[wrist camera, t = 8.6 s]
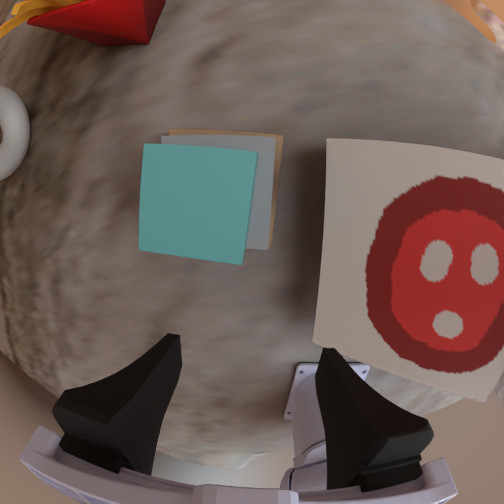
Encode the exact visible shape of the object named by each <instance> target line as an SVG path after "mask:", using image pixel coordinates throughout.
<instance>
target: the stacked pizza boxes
mask: <svg viewBox="0 0 504 504" xmlns="http://www.w3.org/2000/svg"><path fill="white" fill-rule="evenodd" d="M312 343H315V344H317V345H319V346H322V347H324V348H335V349H336V350H337V351H338V352H339V354H341V355H344V356H347V357H349V358H352V359H354V360H357V361H359V362H362V363H365V364H367V365H370V366H373V367H375V368H378V369H381V370H383V371H386V372H389V373H392V374H395V375H397V376H400V377H403V378H406V379H409V380H412V381H415V382H418V383H421V384H424V385H427V386H430V387H433V388H436V389H439V390H443V391H446V392H449V393H452V394H456V395H459V396H463V397H466V398H470V399H473V400H477V401H480V402H485V400H486V399H487V397H488V396H489V394H490V392H491V391H492V390H493V391H494V392H495V393H496V395H497V396H498V397H499V399H500V400H501V402H502V403H503V405H504V160H503V159H499V158H495V157H490V156H486V155H481V154H476V153H471V152H466V151H461V150H455V149H449V148H443V147H436V146H429V145H421V144H412V143H403V142H392V141H380V140H363V139H336V138H326V192H325V214H324V231H323V245H322V258H321V270H320V280H319V290H318V300H317V308H316V317H315V325H314V332H313V340H312Z"/></svg>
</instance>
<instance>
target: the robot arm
mask: <svg viewBox="0 0 504 504" xmlns="http://www.w3.org/2000/svg"><path fill="white" fill-rule="evenodd" d="M181 368H182V356H181V344H180V335H176V334H170V333H168V334H167V335H166V336H165V337H163V338H162V339H161V340H160V341H159V342H158V343H157V344H156V345H154V346H153V347H152V348H151V349H150V350H148V351H147V352H146V353H145V354H144V355H142V356H141V357H140V358H138V359H137V360H136V361H134V362H133V363H132V364H130V365H129V366H127V367H125V368H124V369H122V370H120V371H119V372H117V373H115V374H113V375H111V376H109V377H106V378H104V379H102V380H100V381H97V382H94V383H91V384H88V385H85V386H82V387H77V388H73V389H68V390H65V391H64V392H63V394H62V395H61V396H60V398H59V399H58V401H57V402H56V404H55V405H54V407H53V409H52V412H53V415H54V417H55V419H56V421H57V422H58V424H59V425H60V427H61V428H62V430H63V431H64V433H65V434H64V436H63V437H61V436H59V435H58V434H57V433H55V432H53V431H51V430H49V429H47V428H46V427H44V426H42V425H39V426H38V428H37V429H36V431H35V432H34V434H33V436H32V437H31V439H30V440H29V442H28V444H27V445H26V447H25V449H24V450H23V452H22V453H21V455H20V457H19V460H20V461H21V462H22V463H23V464H24V465H25V466H26V467H27V468H28V469H30V471H32V472H33V473H34V474H35V475H36V476H37V477H38V478H39V479H40V480H41V481H43V482H44V483H45V484H47V485H49V486H51V487H52V488H54V489H56V490H57V491H59V492H61V493H63V494H64V495H66V496H68V497H70V498H72V499H74V500H75V501H77V502H79V503H81V504H444V503H445V502H447V501H448V500H450V499H451V498H453V497H454V496H455V495H457V493H458V491H457V489H456V486H455V484H454V481H453V478H452V476H451V474H450V471H449V469H448V466H447V464H446V461H445V459H444V458H440V459H437V460H434V461H431V462H428V463H426V464H424V465H422V466H420V463H419V461H421V459H422V458H421V455H420V453H421V452H422V451H423V450H424V449H425V448H426V447H427V446H428V444H429V443H430V442H431V441H432V439H433V436H434V432H433V430H432V428H431V426H430V424H429V422H428V420H427V419H425V418H422V417H419V416H417V415H414V414H412V413H410V412H408V411H406V410H404V409H402V408H400V407H398V406H397V405H395V404H393V403H392V402H390V401H389V400H387V399H386V398H384V397H383V396H381V395H380V394H379V393H378V392H376V391H375V390H374V389H373V388H371V387H370V386H369V385H368V384H367V383H366V382H365V381H364V380H365V378H366V376H367V374H368V371H369V369H370V365H367V364H365V363H353V364H348V363H347V362H346V361H345V359H344V358H343V357H342V356H341V355H340V354H339V352H338V351H337V350H336V349H335V348H323V351H322V354H321V357H320V361H319V364H314V363H301V364H299V365H297V368H296V372H295V376H294V380H293V384H292V387H291V391H290V395H289V398H288V402H287V406H286V409H285V413H284V419H285V420H292V427H293V439H294V452H295V457H294V468H290V469H288V470H287V471H286V472H285V474H284V477H283V478H282V480H281V484H280V489H278V488H276V489H275V488H274V489H273V488H272V489H271V488H248V487H247V488H246V487H235V486H234V487H233V486H223V485H213V484H204V485H198V486H195V485H190V484H184V483H179V482H174V481H170V480H165V479H161V478H157V477H153V476H151V473H152V467H153V461H154V456H155V450H156V446H157V441H158V437H159V433H160V429H161V425H162V421H163V418H164V415H165V412H166V410H167V407H168V405H169V402H170V400H171V397H172V395H173V392H174V390H175V387H176V385H177V382H178V379H179V376H180V372H181ZM364 370H365V371H364ZM299 371H302V372H299Z"/></svg>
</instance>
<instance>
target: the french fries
mask: <svg viewBox="0 0 504 504" xmlns="http://www.w3.org/2000/svg"><path fill="white" fill-rule="evenodd" d="M165 3H166V1H165V0H26V1H23V2H20V3H17V4H15V6H14V8H13V11H12V13H11V14H12V15H17V16H15V17H14V18H12V19H10V20H9V21H7V22H6V23H4V24H3V25H2V26H0V39H1V38H2V37H3V36H4V35H5V34H7V33H8V32H9V31H11V30H12V29H13V28H15V27H16V26H18V25H19V24H21V23H23V22H24V21H26V20H28V21H27V24H29V25H33V26H38V27H42V28H46V29H50V30H53V31H57V32H61V33H64V34H68V35H71V36H74V37H77V38H80V39H84V40H87V41H89V42H92V43H95V44H98V45H101V46H104V47H106V46H118V45H135V44H149V43H150V40H151V37H152V34H153V32H154V29H155V27H156V24H157V22H158V19H159V17H160V14H161V12H162V10H163V7H164V5H165ZM18 14H19V15H18Z"/></svg>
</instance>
